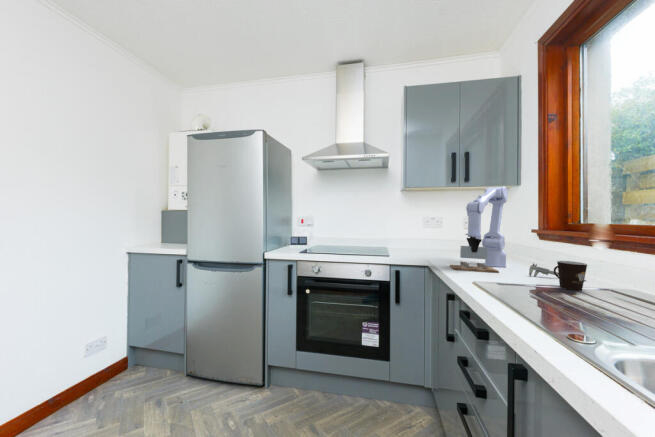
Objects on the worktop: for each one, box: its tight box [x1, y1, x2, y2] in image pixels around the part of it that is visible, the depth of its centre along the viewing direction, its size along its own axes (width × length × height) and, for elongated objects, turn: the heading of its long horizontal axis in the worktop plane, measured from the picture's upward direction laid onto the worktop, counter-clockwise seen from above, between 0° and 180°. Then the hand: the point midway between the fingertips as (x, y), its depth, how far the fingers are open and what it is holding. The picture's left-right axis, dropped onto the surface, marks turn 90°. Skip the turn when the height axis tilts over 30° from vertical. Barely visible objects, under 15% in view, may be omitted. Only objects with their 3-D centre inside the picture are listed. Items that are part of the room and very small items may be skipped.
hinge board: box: [449, 261, 500, 274], centre depth 137 cm, size 20×10×3 cm, turn 78°
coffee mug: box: [553, 260, 588, 292], centre depth 104 cm, size 12×9×10 cm
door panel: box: [459, 245, 488, 260], centre depth 137 cm, size 12×2×6 cm, turn 78°
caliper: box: [528, 263, 587, 282], centre depth 121 cm, size 20×1×6 cm, turn 67°
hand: (473, 252), depth 137 cm, fingers closed on door panel, 2 cm apart
